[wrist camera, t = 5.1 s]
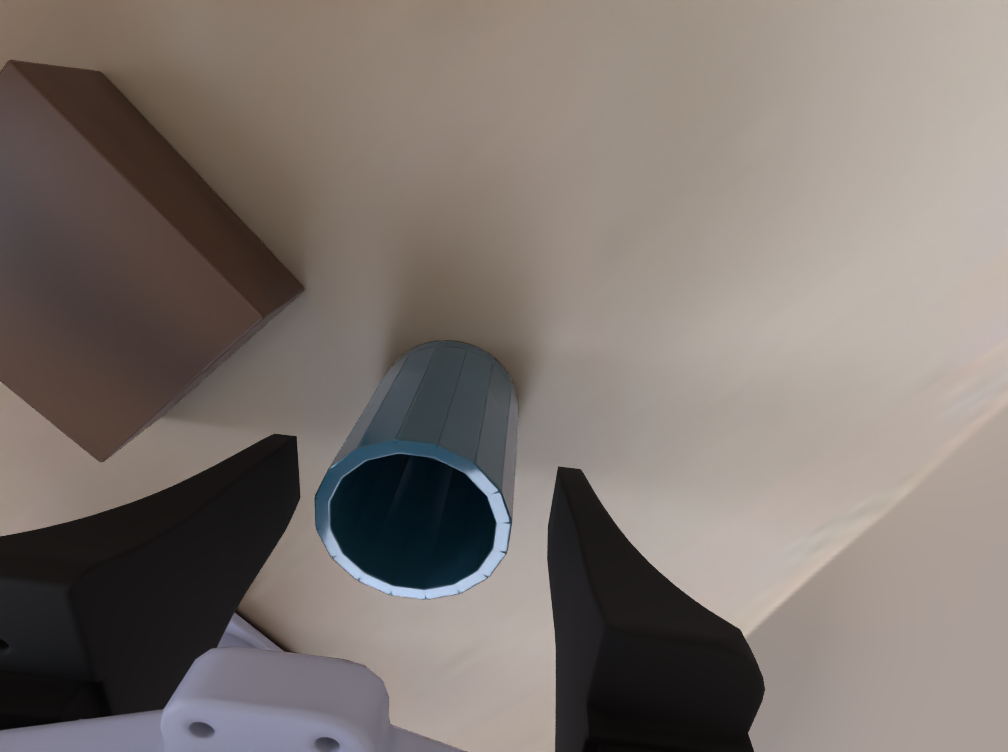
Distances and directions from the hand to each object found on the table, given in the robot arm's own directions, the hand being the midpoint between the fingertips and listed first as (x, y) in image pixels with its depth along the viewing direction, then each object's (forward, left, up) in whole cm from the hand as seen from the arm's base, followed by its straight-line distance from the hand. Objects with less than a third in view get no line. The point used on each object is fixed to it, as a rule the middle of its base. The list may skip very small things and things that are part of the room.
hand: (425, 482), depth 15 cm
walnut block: (-5, +10, -5) cm, 12 cm away
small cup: (0, 0, -5) cm, 5 cm away
